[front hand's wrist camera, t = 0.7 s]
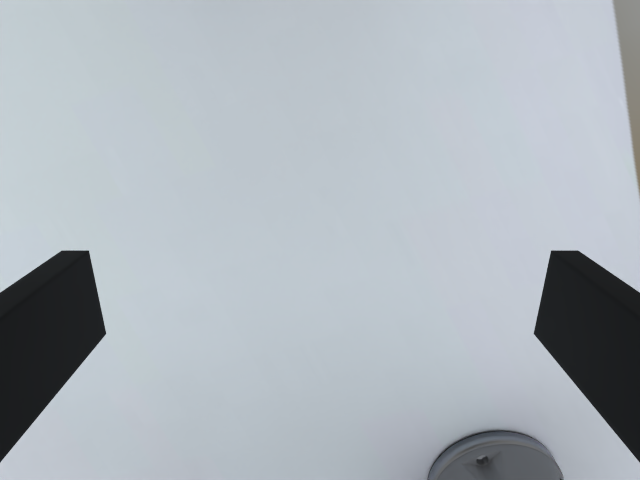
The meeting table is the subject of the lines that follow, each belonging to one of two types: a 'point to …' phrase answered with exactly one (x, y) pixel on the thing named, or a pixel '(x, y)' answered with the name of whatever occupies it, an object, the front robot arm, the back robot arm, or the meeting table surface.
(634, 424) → the front robot arm
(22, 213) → the meeting table surface
